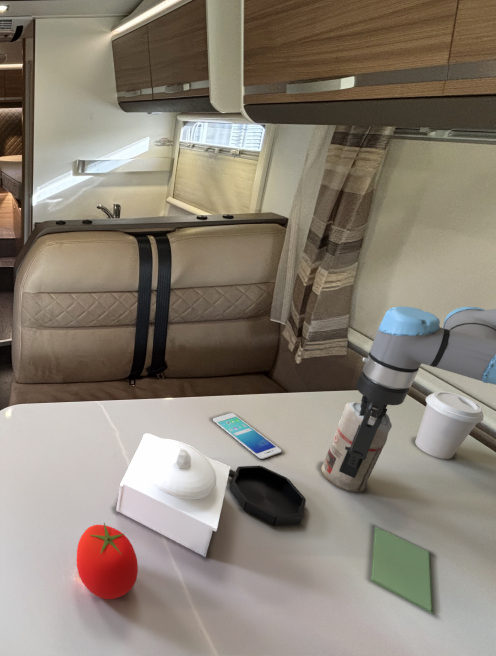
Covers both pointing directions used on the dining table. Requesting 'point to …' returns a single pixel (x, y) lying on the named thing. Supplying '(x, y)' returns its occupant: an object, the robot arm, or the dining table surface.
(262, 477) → the black octagonal pan
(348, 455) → the robot arm
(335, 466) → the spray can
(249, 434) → the smartphone
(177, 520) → the butter dish
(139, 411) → the dining table surface
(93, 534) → the tomato
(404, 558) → the green flat panel
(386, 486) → the dining table surface
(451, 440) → the coffee cup
